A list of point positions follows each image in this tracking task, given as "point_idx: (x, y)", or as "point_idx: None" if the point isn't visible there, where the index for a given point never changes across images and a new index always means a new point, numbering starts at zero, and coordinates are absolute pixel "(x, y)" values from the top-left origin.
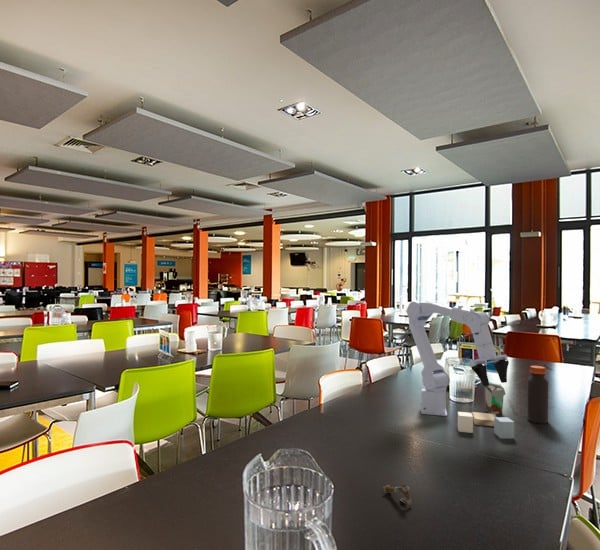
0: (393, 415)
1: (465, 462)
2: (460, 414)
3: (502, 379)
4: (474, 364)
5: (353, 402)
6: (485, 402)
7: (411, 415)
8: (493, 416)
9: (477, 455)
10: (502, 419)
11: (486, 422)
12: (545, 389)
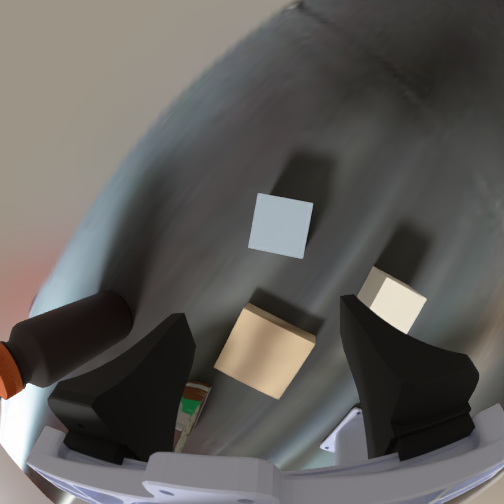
0: (474, 413)
1: (478, 94)
2: (413, 311)
3: (185, 344)
4: (498, 414)
5: None
6: (186, 439)
7: None
8: (233, 350)
9: (443, 113)
10: (286, 227)
11: (281, 324)
12: (35, 317)
